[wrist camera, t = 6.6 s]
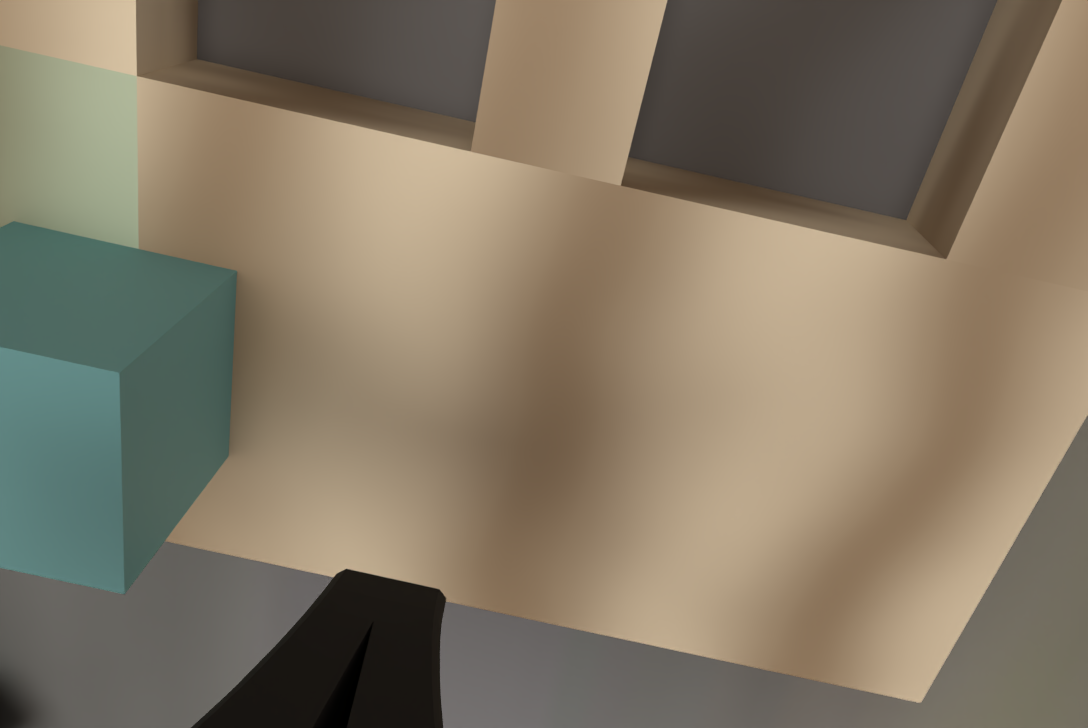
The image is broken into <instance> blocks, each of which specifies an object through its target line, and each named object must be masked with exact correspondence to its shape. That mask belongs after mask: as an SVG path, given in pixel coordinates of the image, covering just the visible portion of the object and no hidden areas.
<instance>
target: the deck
mask: <svg viewBox="0 0 1088 728" xmlns="http://www.w3.org/2000/svg"><path fill="white" fill-rule="evenodd" d="M13 221H15V222H19V223H24V224H28V225H33V226H37V227H42V228H46V229H51V230H55V231H60V232H64V233H69V234H73V235H78V236H82V237H87V238H91V239H96V240H100V241H105V242H109V243H114V244H118V245H123V246H128V247H132V248H137V249H141V250H146V251H150V252H155V253H159V254H164V255H168V256H173V257H177V258H182V259H186V260H191V261H195V262H200V263H204V264H209V265H213V266H218V267H222V268H227V269H231V270H236V271H237V283H236V305H235V327H234V349H233V371H232V394H231V416H230V438H229V456H228V458H227V459H226V460H225V462H224V463H223V464H222V466H221V467H220V468H219V470H218V471H217V472H216V474H215V475H214V476H213V478H212V479H211V480H210V482H209V483H208V484H207V486H206V487H205V488H204V490H203V491H202V492H201V494H200V495H199V496H198V498H197V499H196V500H195V502H194V503H193V504H192V506H191V507H190V508H189V510H188V511H187V512H186V513H185V515H184V516H183V517H182V519H181V520H180V521H179V523H178V524H177V525H176V527H175V528H174V529H173V531H172V532H171V533H170V535H169V536H168V537H167V539H166V540H165V541H167V542H172V543H176V544H181V545H186V546H190V547H195V548H200V549H204V550H209V551H214V552H218V553H223V554H228V555H232V556H237V557H242V558H246V559H251V560H256V561H260V562H265V563H270V564H274V565H279V566H284V567H288V568H293V569H298V570H302V571H307V572H312V573H316V574H321V575H326V576H330V577H334V576H335V575H336V574H337V573H339V572H341V571H343V570H345V569H350V570H354V571H359V572H364V573H368V574H373V575H377V576H382V577H386V578H391V579H396V580H400V581H405V582H409V583H414V584H418V585H423V586H428V587H432V588H437V589H440V590H441V592H442V593H443V594H444V596H445V597H446V601H447V602H452V603H456V604H461V605H466V606H470V607H475V608H480V609H484V610H489V611H494V612H498V613H503V614H508V615H512V616H517V617H522V618H526V619H531V620H536V621H540V622H545V623H550V624H554V625H559V626H564V627H568V628H573V629H578V630H582V631H587V632H592V633H596V634H601V635H606V636H610V637H615V638H620V639H624V640H629V641H634V642H638V643H643V644H648V645H652V646H657V647H662V648H666V649H671V650H676V651H680V652H685V653H689V654H694V655H699V656H703V657H708V658H713V659H717V660H722V661H727V662H731V663H736V664H741V665H745V666H750V667H755V668H759V669H764V670H769V671H773V672H778V673H783V674H787V675H792V676H797V677H801V678H806V679H811V680H815V681H820V682H825V683H829V684H834V685H839V686H843V687H848V688H853V689H857V690H862V691H867V692H871V693H876V694H881V695H885V696H890V697H895V698H899V699H904V700H909V701H913V702H918V703H921V702H922V700H923V698H924V697H925V695H926V693H927V691H928V690H929V688H930V686H931V684H932V683H933V681H934V679H935V678H936V676H937V674H938V672H939V671H940V669H941V667H942V665H943V664H944V662H945V660H946V659H947V657H948V655H949V653H950V652H951V650H952V648H953V646H954V645H955V643H956V641H957V640H958V638H959V636H960V634H961V633H962V631H963V629H964V627H965V626H966V624H967V622H968V621H969V619H970V617H971V615H972V614H973V612H974V610H975V608H976V607H977V605H978V603H979V601H980V600H981V598H982V596H983V595H984V593H985V591H986V589H987V588H988V586H989V584H990V582H991V581H992V579H993V577H994V576H995V574H996V572H997V570H998V569H999V567H1000V565H1001V563H1002V562H1003V560H1004V558H1005V557H1006V555H1007V553H1008V551H1009V550H1010V548H1011V546H1012V544H1013V543H1014V541H1015V539H1016V538H1017V536H1018V534H1019V532H1020V531H1021V529H1022V527H1023V525H1024V524H1025V522H1026V520H1027V519H1028V517H1029V515H1030V513H1031V512H1032V510H1033V508H1034V506H1035V505H1036V503H1037V501H1038V500H1039V498H1040V496H1041V494H1042V493H1043V491H1044V489H1045V487H1046V486H1047V484H1048V482H1049V481H1050V479H1051V477H1052V475H1053V474H1054V472H1055V470H1056V468H1057V467H1058V465H1059V463H1060V462H1061V460H1062V458H1063V456H1064V455H1065V453H1066V451H1067V449H1068V448H1069V446H1070V444H1071V443H1072V441H1073V439H1074V437H1075V436H1076V434H1077V432H1078V430H1079V429H1080V427H1081V425H1082V424H1083V422H1084V420H1085V418H1086V417H1087V415H1088V0H0V227H2V226H4V225H7V224H9V223H11V222H13Z"/></svg>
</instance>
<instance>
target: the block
mask: <svg viewBox="0 0 1088 728" xmlns="http://www.w3.org/2000/svg"><path fill="white" fill-rule="evenodd" d="M236 283H237V271H236V270H231V269H227V268H222V267H218V266H213V265H209V264H204V263H200V262H195V261H191V260H186V259H182V258H177V257H173V256H168V255H164V254H159V253H155V252H150V251H146V250H141V249H137V248H132V247H128V246H123V245H118V244H114V243H109V242H105V241H100V240H96V239H91V238H87V237H82V236H78V235H73V234H69V233H64V232H60V231H55V230H51V229H46V228H42V227H37V226H33V225H28V224H24V223H19V222H15V221H13V222H11V223H9V224H7V225H4V226H2V227H0V568H4V569H9V570H13V571H18V572H23V573H27V574H32V575H37V576H42V577H46V578H51V579H56V580H60V581H65V582H70V583H74V584H79V585H84V586H89V587H93V588H98V589H103V590H107V591H112V592H117V593H121V594H125V593H126V592H127V590H128V589H129V588H130V586H131V585H132V584H133V582H134V581H135V580H136V578H137V577H138V576H139V574H140V573H141V572H142V570H143V569H144V568H145V567H146V565H147V564H148V563H149V561H150V560H151V559H152V557H153V556H154V555H155V553H156V552H157V551H158V549H159V548H160V547H161V545H162V544H163V543H164V541H165V540H166V539H167V537H168V536H169V535H170V533H171V532H172V531H173V529H174V528H175V527H176V525H177V524H178V523H179V521H180V520H181V519H182V517H183V516H184V515H185V513H186V512H187V511H188V510H189V508H190V507H191V506H192V504H193V503H194V502H195V500H196V499H197V498H198V496H199V495H200V494H201V492H202V491H203V490H204V488H205V487H206V486H207V484H208V483H209V482H210V480H211V479H212V478H213V476H214V475H215V474H216V472H217V471H218V470H219V468H220V467H221V466H222V464H223V463H224V462H225V460H226V459H227V458H228V456H229V438H230V416H231V394H232V371H233V349H234V327H235V305H236Z"/></svg>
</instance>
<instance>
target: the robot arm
mask: <svg viewBox="0 0 1088 728" xmlns="http://www.w3.org/2000/svg"><path fill="white" fill-rule="evenodd" d="M445 602H446V597H445V596H444V594H443V593H442V592H441V590H440V589H437V588H432V587H428V586H423V585H418V584H414V583H409V582H405V581H400V580H396V579H391V578H386V577H382V576H377V575H373V574H368V573H364V572H359V571H354V570H350V569H345V570H343V571H341V572H339V573H337V574H336V575H335V576H334V578H333V579H332V580H331V582H330V583H329V584H328V586H327V587H326V588H325V590H324V591H323V592H322V593H321V595H320V596H319V597H318V598H317V599H316V601H315V602H314V603H313V604H312V606H311V607H310V608H309V609H308V610H307V611H306V613H305V614H304V615H303V616H302V617H301V618H300V619H299V621H298V622H297V623H296V624H295V625H294V626H293V627H292V628H291V629H290V631H289V632H288V633H287V634H286V635H285V636H284V637H283V638H282V639H281V640H280V642H279V643H278V644H277V645H276V646H275V647H274V648H273V649H272V650H271V651H270V652H269V653H268V654H267V655H266V656H265V657H264V658H263V659H262V660H261V661H260V662H259V663H258V664H257V665H256V666H255V667H254V668H253V669H252V670H251V671H250V672H249V673H248V674H247V675H246V676H245V677H244V678H243V680H242V681H241V682H240V683H239V684H238V685H237V686H236V687H235V688H233V689H232V690H231V691H230V692H229V693H228V694H227V695H226V696H225V697H224V698H223V699H222V700H221V701H220V702H219V703H218V704H216V705H215V706H214V707H213V708H212V709H211V710H210V711H209V712H208V713H207V714H206V715H204V716H203V717H202V718H201V719H200V720H199V721H198V722H197V723H196V724H195V725H194V726H192V727H191V728H443V721H442V709H441V695H440V634H441V623H442V617H443V612H444V607H445Z"/></svg>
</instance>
